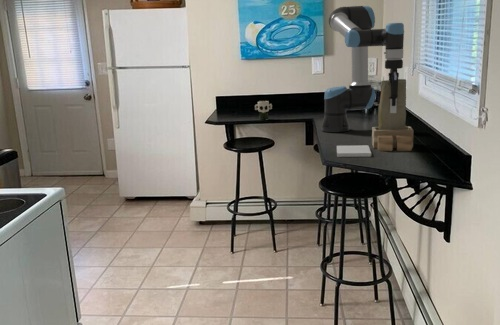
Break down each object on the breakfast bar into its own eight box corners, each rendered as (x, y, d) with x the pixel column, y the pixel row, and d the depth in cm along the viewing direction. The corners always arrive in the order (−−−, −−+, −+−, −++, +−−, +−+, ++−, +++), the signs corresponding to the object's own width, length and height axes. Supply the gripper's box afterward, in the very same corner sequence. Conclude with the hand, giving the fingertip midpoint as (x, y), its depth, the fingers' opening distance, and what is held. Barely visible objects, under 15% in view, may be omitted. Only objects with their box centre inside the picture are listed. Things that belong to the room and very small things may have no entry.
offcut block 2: (395, 148, 212) (396, 135, 210) (409, 148, 211) (410, 135, 209) (397, 150, 208) (397, 137, 206) (411, 150, 207) (411, 137, 205)
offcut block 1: (377, 148, 213) (377, 135, 212) (391, 148, 212) (391, 135, 210) (378, 150, 209) (378, 137, 208) (392, 150, 208) (392, 137, 207)
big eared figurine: (255, 123, 303) (254, 102, 300) (255, 121, 310) (254, 101, 307) (272, 122, 303) (272, 101, 300) (271, 120, 310) (271, 100, 307)
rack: (371, 143, 224) (372, 126, 222) (409, 143, 221) (409, 126, 219) (373, 148, 215) (374, 130, 213) (412, 147, 212) (413, 130, 210)
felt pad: (336, 148, 216) (336, 145, 216) (368, 148, 214) (368, 145, 214) (337, 156, 201) (337, 153, 201) (371, 156, 199) (371, 153, 198)
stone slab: (403, 144, 219) (406, 78, 213) (405, 146, 215) (408, 79, 209) (376, 145, 220) (378, 79, 214) (378, 146, 216) (380, 79, 210)
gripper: (383, 59, 217) (382, 110, 223) (387, 60, 202) (386, 115, 207) (400, 58, 216) (398, 109, 221) (405, 59, 201) (403, 114, 206)
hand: (392, 112), depth 214 cm, fingers open, 3 cm apart
